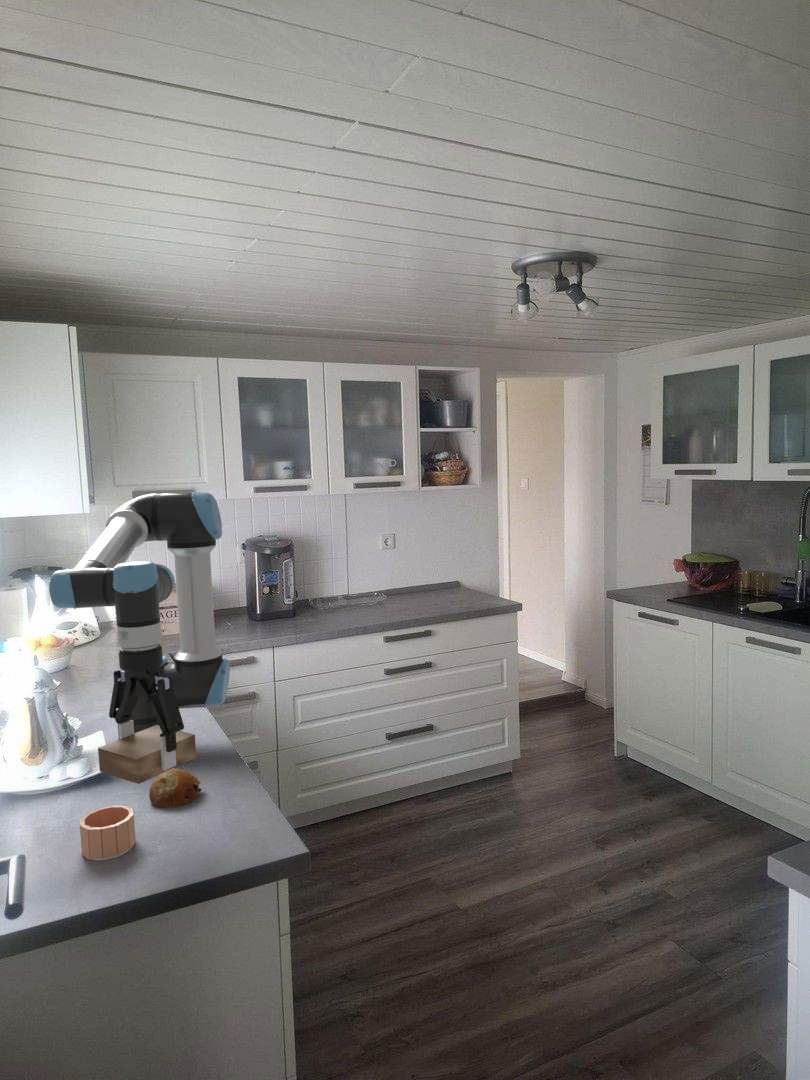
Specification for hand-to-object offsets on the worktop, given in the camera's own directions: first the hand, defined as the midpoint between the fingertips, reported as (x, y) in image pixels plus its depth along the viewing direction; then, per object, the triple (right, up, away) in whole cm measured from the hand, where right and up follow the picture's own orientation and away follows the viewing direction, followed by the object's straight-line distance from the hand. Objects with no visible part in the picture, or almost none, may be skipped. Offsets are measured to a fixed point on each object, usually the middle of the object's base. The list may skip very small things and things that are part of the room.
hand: (148, 761), depth 133 cm
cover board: (0, -1, 0) cm, 1 cm away
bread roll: (-1, -14, +20) cm, 25 cm away
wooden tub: (-7, -16, 0) cm, 18 cm away
